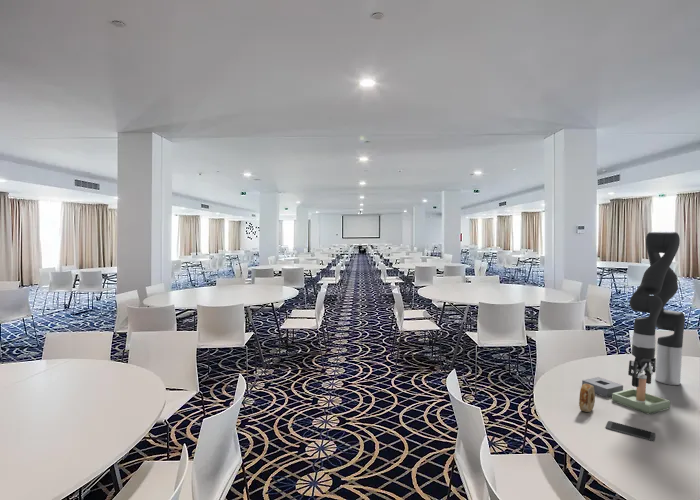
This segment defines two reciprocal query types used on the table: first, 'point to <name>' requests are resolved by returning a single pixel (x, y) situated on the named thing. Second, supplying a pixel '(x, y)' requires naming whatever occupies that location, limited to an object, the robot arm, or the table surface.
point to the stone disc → (587, 398)
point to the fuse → (641, 389)
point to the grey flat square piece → (603, 386)
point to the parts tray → (651, 402)
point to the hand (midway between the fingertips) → (641, 384)
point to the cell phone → (630, 431)
